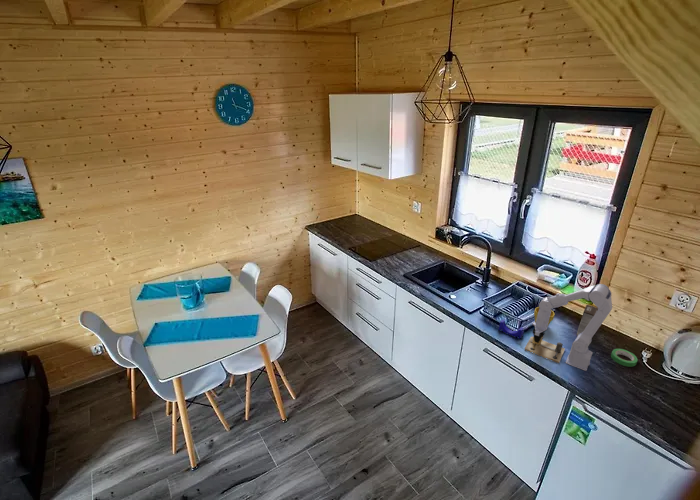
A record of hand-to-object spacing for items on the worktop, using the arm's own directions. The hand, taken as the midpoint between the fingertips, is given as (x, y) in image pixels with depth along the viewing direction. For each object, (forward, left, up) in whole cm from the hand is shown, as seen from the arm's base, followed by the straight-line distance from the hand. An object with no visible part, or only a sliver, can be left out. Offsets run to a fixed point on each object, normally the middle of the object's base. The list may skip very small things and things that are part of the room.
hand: (537, 339), depth 211 cm
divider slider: (0, +2, -2) cm, 3 cm away
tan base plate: (-5, +2, -3) cm, 6 cm away
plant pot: (+2, -20, -4) cm, 20 cm away
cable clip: (+14, -2, -4) cm, 15 cm away
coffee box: (-19, -27, -4) cm, 33 cm away
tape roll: (-39, -16, -4) cm, 42 cm away
